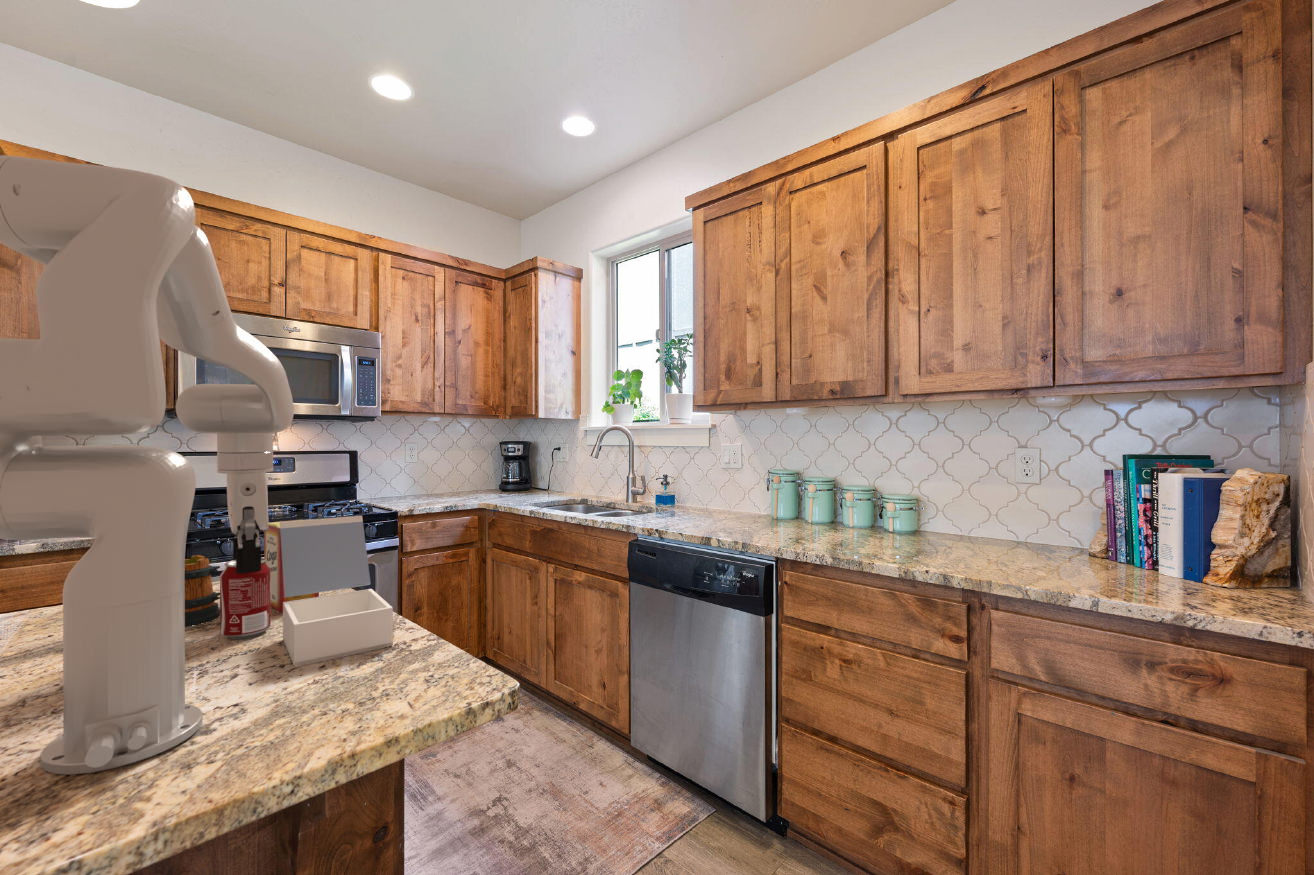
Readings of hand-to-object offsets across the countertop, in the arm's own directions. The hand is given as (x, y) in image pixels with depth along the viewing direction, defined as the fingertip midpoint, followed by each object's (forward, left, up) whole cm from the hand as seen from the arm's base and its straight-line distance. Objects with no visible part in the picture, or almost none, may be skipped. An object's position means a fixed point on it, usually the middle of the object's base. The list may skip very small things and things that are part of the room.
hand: (246, 566), depth 95 cm
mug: (+14, +9, -11) cm, 21 cm away
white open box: (-15, -11, -11) cm, 21 cm away
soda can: (-1, 0, -11) cm, 11 cm away
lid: (-4, -11, +1) cm, 12 cm away
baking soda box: (+14, -8, -11) cm, 20 cm away
